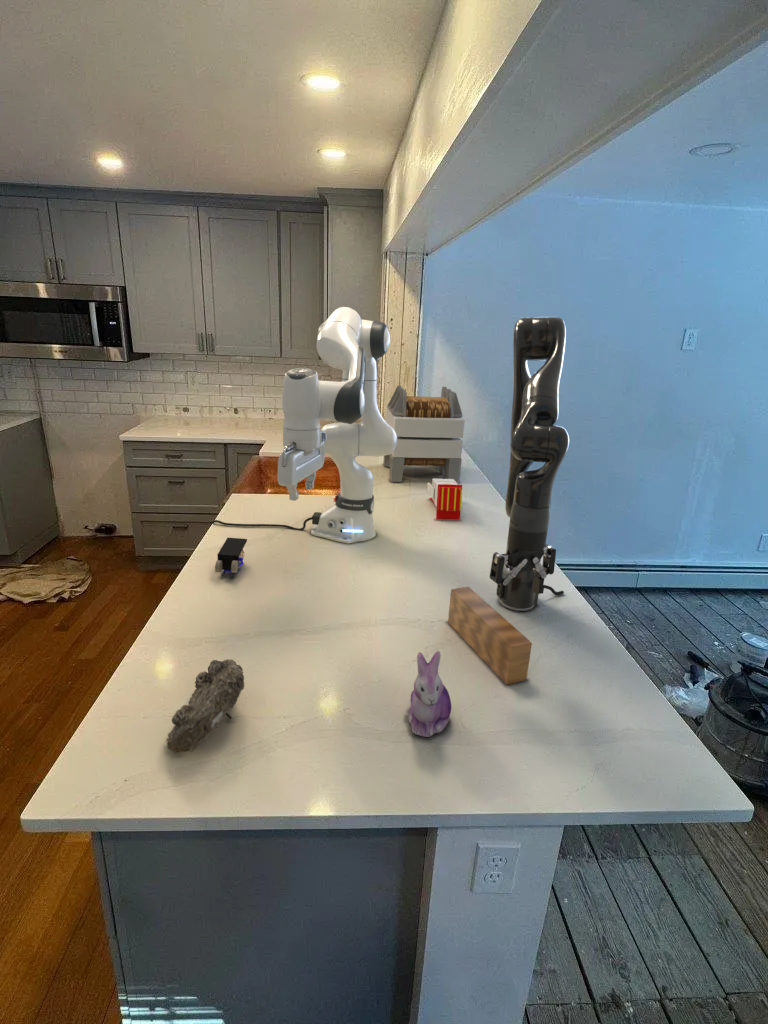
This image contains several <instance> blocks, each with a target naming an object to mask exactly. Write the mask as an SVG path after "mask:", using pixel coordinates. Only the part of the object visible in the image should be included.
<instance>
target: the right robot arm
mask: <svg viewBox="0 0 768 1024" xmlns="http://www.w3.org/2000/svg"><path fill="white" fill-rule="evenodd" d="M512 337H513V338H512V345H513V346H512V358H513V359H512V363H513V370H512V371H513V387H512V388H513V389H512V390H513V391H512V405H511V418H510V444H509V448H510V451H509V452H510V453H509V454H510V455H509V457H510V458H509V471H508V479H507V487H506V496H505V514H506V516H507V517H508V518H509V524H508V533H507V538H506V539H507V540H506V547H505V548H506V550H505V553H499V552H497V551H494V553H493V554H492V560H491V565H490V571H489V579H490V580H492V581H493V583H495V584H496V596H497V597H498V599H499V603H500V604H501V606H503V607H504V608H506V609H509V610H511V611H517V612H527V611H531V610H532V609H534V607H537V606H538V602H539V596H540V595H541V594H544V590H545V589H546V590H549V591H550V592H551V593H552V594H553V595H555V596H559V595H564V593H565V591H564V590H559V591H556V590H555V589H554V588H553V587H552V586H549V585H547V584H545V579H546V578H547V576H548V575H553V574H554V573H555V567H556V566H555V564H556V556H557V549H556V548H554V547H553V546H552V545H550V544H548V543H547V538H548V530H549V523H550V517H551V506H552V492H553V487H554V483H555V480H556V477H557V474H558V471H559V470H560V467H561V465H562V463H563V461H564V459H565V457H566V454H567V453H568V450H569V446H570V436H569V433H568V431H567V430H566V428H565V427H563V426H560V425H555V424H556V423H557V421H558V419H559V411H560V410H559V409H560V408H559V407H560V405H559V389H560V381H561V376H562V372H563V364H564V357H565V350H566V341H567V340H566V339H567V329H566V324H565V321H564V319H563V318H561V317H558V316H533V317H532V316H531V317H527V316H526V317H520V318H518V319H517V320H516V322H515V324H514V328H513V335H512ZM528 361H529V362H530V361H533V362H534V361H536V362H537V361H541V362H542V361H545V362H544V363H543V364H542V365H541V367H539V369H538V370H536V371H535V372H534V374H533V375H531V374H530V370H529V366H528ZM534 463H543V466H541V467H540V468H537V469H533V470H529V469H530V468H531V466H532V465H533V464H534ZM541 560H542V561H541ZM541 562H542V563H541Z"/></svg>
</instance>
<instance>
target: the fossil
mask: <svg viewBox="0 0 768 1024" xmlns="http://www.w3.org/2000/svg"><path fill="white" fill-rule="evenodd" d="M243 670H244V669H243V667H242V665H240V664H237V662H236V661H235V660H234V659H232V658H231V659H227V658H226V659H224V660H223V661H222V660H217V659H212V660H211V661H210V663H209V665H208V666H207V671H201V672H199V673H198V674H197V675H196V676H195V680H194V684H195V685H194V687H195V689H194V690H193V693H192V694H191V697H190V698H189V700H188V704H184V705H182V706H181V707H180V709H177V710H176V711H175V713H174V715H173V716H172V718H171V723H172V724H173V727H172V730H171V731H170V732H168V734H167V738H166V741H167V742H166V745H167V749H168V750H169V751H173V752H174V753H176V754H178V753H182V752H188V751H189V752H192V751H193V750H195V748H196V747H197V746H199V744H200V743H201V742H203V741H204V740H205V739H206V738H207V737H208V736H209V735H210V734H211V733H212V732H214V730H215V729H217V727H218V726H219V724H220V722H221V721H222V720H223V719H224V718H225V716H226V717H227V719H229V720H233V717H232V715H230V714H229V710H230V709H231V708H234V706H235V704H236V703H237V702H238V699H239V697H240V695H241V693H242V691H243V690H245V689H244V688H245V675H244V671H243Z"/></svg>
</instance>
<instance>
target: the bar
mask: <svg viewBox="0 0 768 1024" xmlns="http://www.w3.org/2000/svg"><path fill="white" fill-rule="evenodd" d="M449 596H450V598H449V607H448V618H447V623H448V624H449V625H450V626H451V627H452V628H453V629H454V631H455V632H456V633H457V634H458V635H459V636H460V637H461V638H462V639H463V640H464V641H465V642H466V643H467V644H468V646H470V647H471V648H472V650H473V651H474V652H475V653H476V654H477V655H478V656H479V657H480V658H481V660H483V661H484V662H485V664H486V665H487V666H488V667H489V668H490V669H491V670H492V672H493V673H495V674H496V676H497V677H499V679H500V680H501V681H502V682H503V683H504V684H505V685H507V686H508V685H512V684H516V683H520V682H524V681H527V678H528V677H527V676H528V672H529V664H530V658H531V654H532V653H531V652H532V645H533V643H532V641H530V639H529V638H527V637H526V636H525V635H524V634H523V633H521V632H520V631H519V630H518V629H517V628H516V627H515V626H514V625H512V624H511V622H510V621H508V620H507V619H506V618H505V617H504V616H503V615H502V614H500V613H499V612H498V611H497V610H496V609H495V608H494V607H492V606H491V605H490V604H489V603H488V602H487V601H486V600H485V599H483V598H482V597H481V596H480V595H479V594H478V593H477V592H476V591H474V590H473V588H471V587H470V586H463V587H457V588H450V595H449Z"/></svg>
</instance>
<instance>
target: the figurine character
mask: <svg viewBox="0 0 768 1024" xmlns="http://www.w3.org/2000/svg"><path fill="white" fill-rule="evenodd" d="M247 542H248V538H240V537H226V539H225V541H224V543H223V544H222V546H221V547H220V549H219V551H218V552H217V560H216V562H215V564H214V572H215V573H221V577H222V578H224V577H225V576H226V574H227V573H230V574H231V573H232V574H231V578H234V577H235V575H236V573H237V572H239V571H240V567H242V566H243V565H244V564H245V562H244V558H245V551H244V547H245V546H246V544H247Z"/></svg>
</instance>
